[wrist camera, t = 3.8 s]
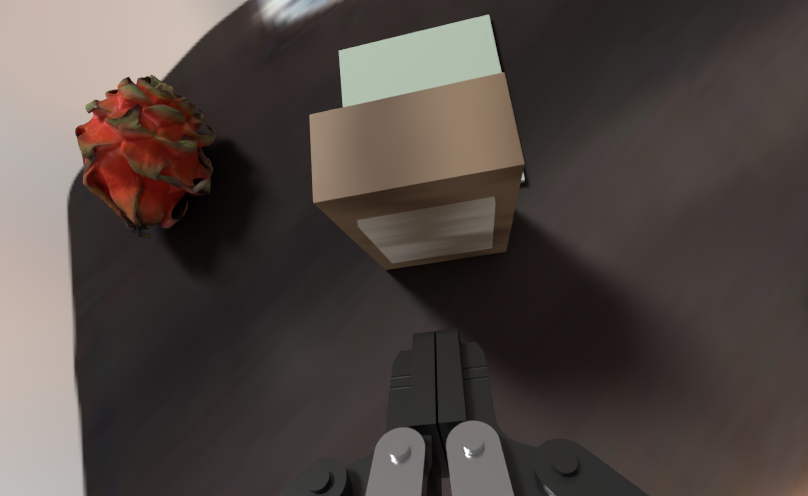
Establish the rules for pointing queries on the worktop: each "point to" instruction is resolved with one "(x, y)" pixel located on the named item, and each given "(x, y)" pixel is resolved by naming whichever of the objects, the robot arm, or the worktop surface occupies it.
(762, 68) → the worktop surface
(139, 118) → the dragon fruit
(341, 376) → the worktop surface
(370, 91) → the mat
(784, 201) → the worktop surface
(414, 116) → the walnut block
